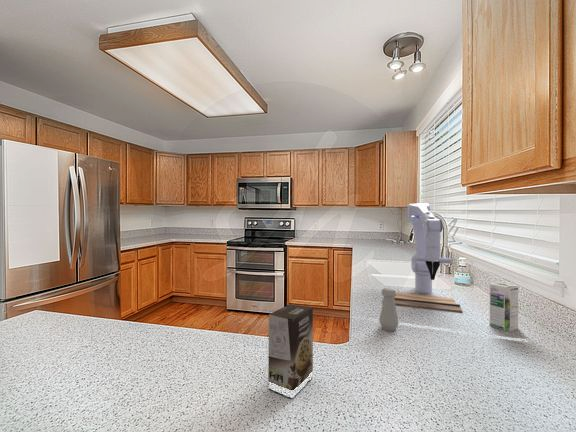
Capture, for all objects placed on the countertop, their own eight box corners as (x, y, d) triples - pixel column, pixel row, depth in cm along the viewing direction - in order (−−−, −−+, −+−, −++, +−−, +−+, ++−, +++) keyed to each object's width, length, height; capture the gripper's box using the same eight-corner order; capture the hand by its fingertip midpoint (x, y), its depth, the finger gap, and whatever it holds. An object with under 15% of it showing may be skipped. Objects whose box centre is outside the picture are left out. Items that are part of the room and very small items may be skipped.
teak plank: (388, 295, 132) (388, 291, 132) (453, 301, 122) (453, 298, 122) (386, 301, 123) (386, 297, 123) (456, 308, 113) (456, 305, 113)
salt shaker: (378, 330, 92) (378, 289, 92) (379, 324, 97) (379, 285, 97) (398, 333, 90) (398, 291, 90) (398, 326, 95) (398, 287, 95)
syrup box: (488, 327, 94) (488, 283, 94) (499, 324, 97) (499, 281, 97) (508, 334, 89) (508, 287, 89) (519, 331, 92) (519, 285, 91)
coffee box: (293, 400, 57) (293, 319, 57) (267, 390, 61) (267, 313, 61) (314, 378, 65) (314, 307, 65) (289, 370, 69) (289, 302, 69)
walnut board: (383, 301, 123) (383, 296, 123) (459, 309, 112) (459, 304, 112) (382, 305, 117) (382, 300, 117) (462, 314, 106) (462, 309, 106)
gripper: (414, 247, 121) (414, 279, 122) (453, 249, 116) (453, 283, 116) (413, 245, 128) (413, 276, 128) (451, 247, 122) (451, 279, 122)
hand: (432, 279), depth 122 cm, fingers closed
